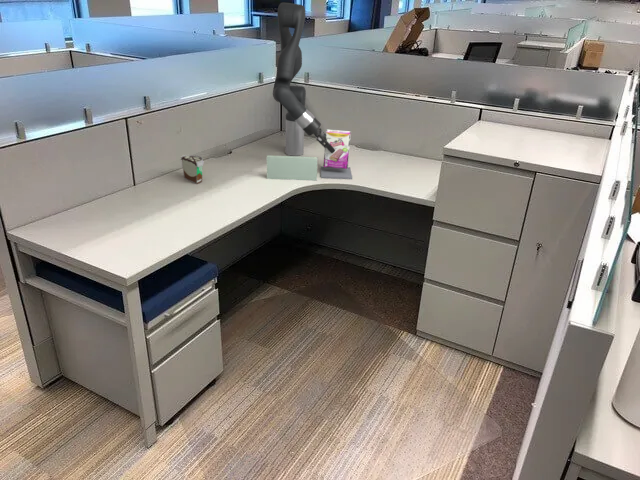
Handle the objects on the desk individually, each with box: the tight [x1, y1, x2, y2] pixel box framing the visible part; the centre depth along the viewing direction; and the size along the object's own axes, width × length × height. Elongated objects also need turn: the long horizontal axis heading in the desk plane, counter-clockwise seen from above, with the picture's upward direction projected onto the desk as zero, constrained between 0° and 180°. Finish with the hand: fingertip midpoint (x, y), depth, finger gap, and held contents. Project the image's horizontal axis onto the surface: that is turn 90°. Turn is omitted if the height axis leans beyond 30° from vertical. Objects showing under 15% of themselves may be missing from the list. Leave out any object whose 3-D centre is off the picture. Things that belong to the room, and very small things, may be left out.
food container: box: [180, 154, 205, 185], centre depth 216 cm, size 12×6×10 cm, turn 47°
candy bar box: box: [323, 128, 352, 169], centre depth 227 cm, size 11×5×16 cm, turn 85°
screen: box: [266, 155, 319, 181], centre depth 221 cm, size 2×22×10 cm, turn 91°
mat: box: [320, 165, 353, 180], centre depth 232 cm, size 14×14×1 cm
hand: (333, 149), depth 227 cm, fingers closed on candy bar box, 5 cm apart
